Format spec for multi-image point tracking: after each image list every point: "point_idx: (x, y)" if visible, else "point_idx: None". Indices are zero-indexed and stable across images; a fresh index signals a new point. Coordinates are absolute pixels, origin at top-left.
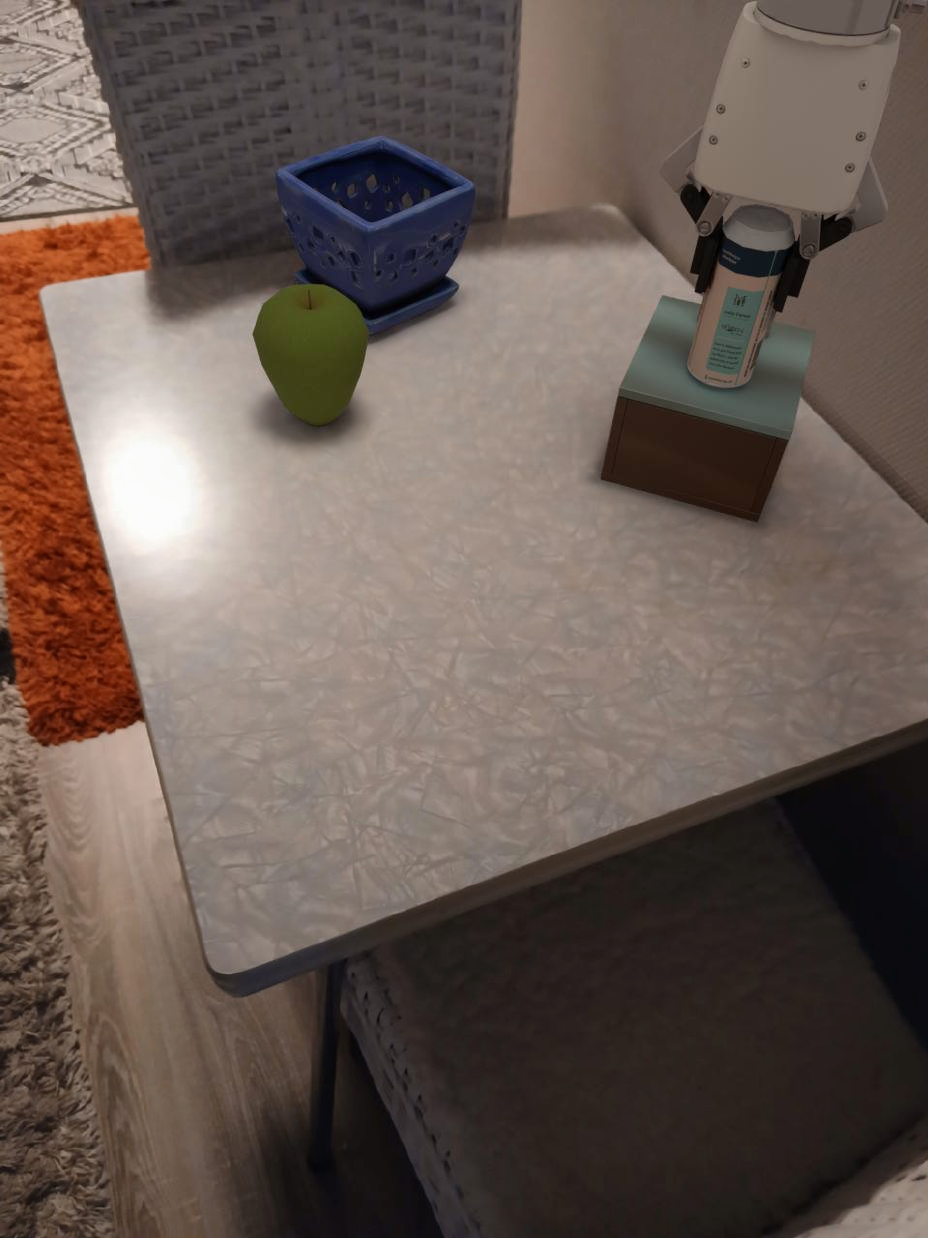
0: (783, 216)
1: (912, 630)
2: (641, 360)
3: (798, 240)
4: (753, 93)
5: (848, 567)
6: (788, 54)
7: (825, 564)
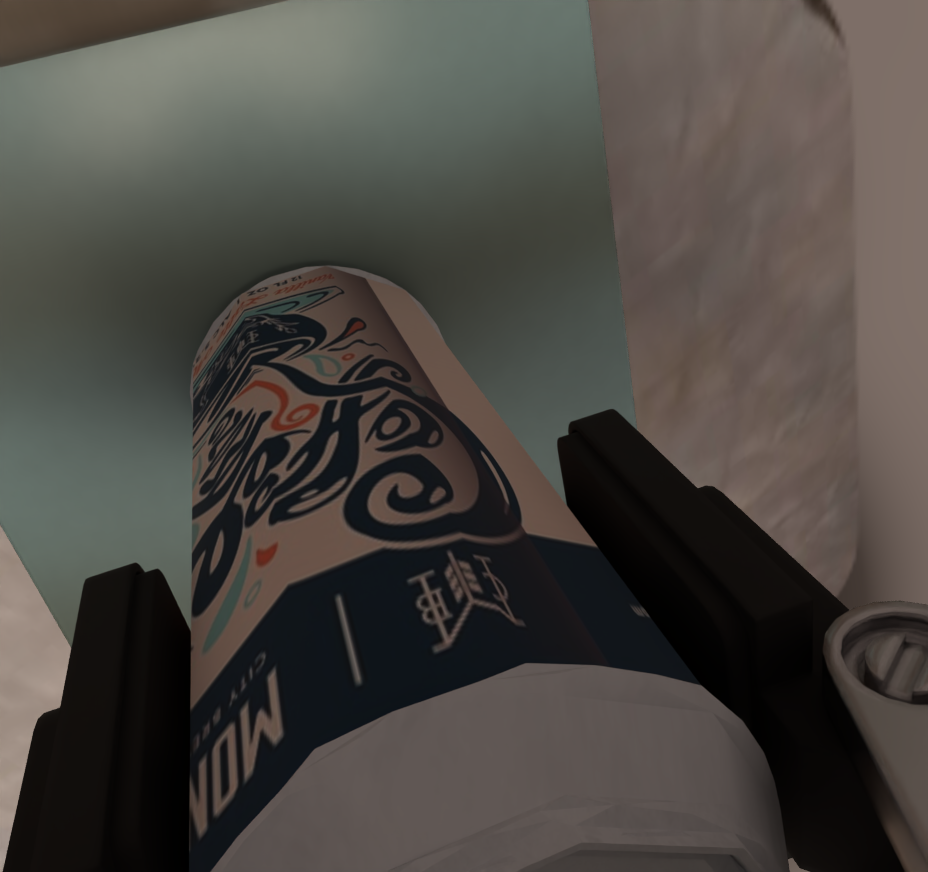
0: (687, 854)
1: (848, 422)
2: (30, 502)
3: (810, 829)
4: None
5: (725, 348)
6: None
7: (682, 372)
